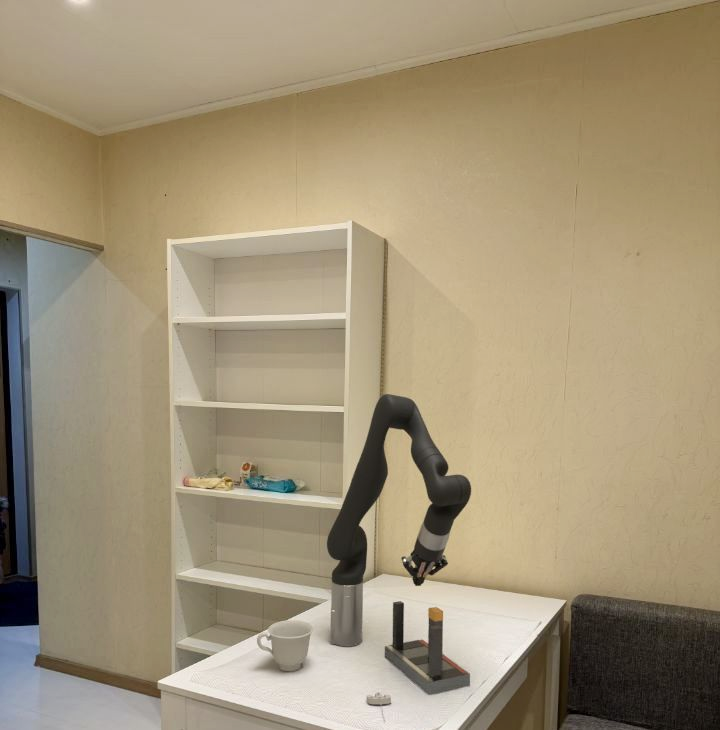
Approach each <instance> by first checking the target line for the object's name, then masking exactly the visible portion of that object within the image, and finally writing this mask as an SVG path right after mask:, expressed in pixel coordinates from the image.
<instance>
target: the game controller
mask: <svg viewBox="0 0 720 730" xmlns="http://www.w3.org/2000/svg"><path fill="white" fill-rule="evenodd" d="M366 702H367V703H368V704H369V705H380V706H381V708H383V706H382V705H388V704H391V694H384V695H383V694H382V693H380V692H379V691H377V692H376V693H374V695H371V694H367V695H366ZM383 710H384V709H381V714H382V718H383V721H384V722H385V723H386V720H385V719H386V718H385V717H384V713H383V712H384V711H383Z"/></svg>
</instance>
